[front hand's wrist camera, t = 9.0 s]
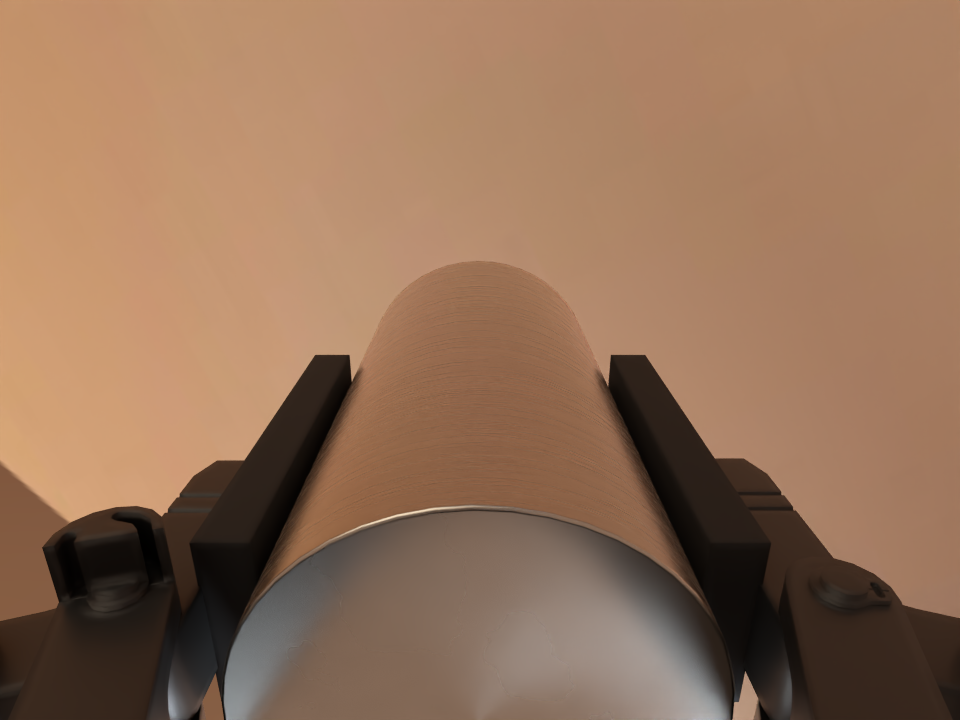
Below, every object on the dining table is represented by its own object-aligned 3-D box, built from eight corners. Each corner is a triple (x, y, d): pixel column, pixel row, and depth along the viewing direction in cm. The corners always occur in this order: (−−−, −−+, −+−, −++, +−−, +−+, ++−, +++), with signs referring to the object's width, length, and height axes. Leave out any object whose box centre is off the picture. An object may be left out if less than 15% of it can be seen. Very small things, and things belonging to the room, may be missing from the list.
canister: (551, 478, 18) (635, 912, 8) (354, 435, 18) (198, 844, 8) (615, 290, 16) (825, 573, 6) (394, 236, 16) (250, 449, 6)
